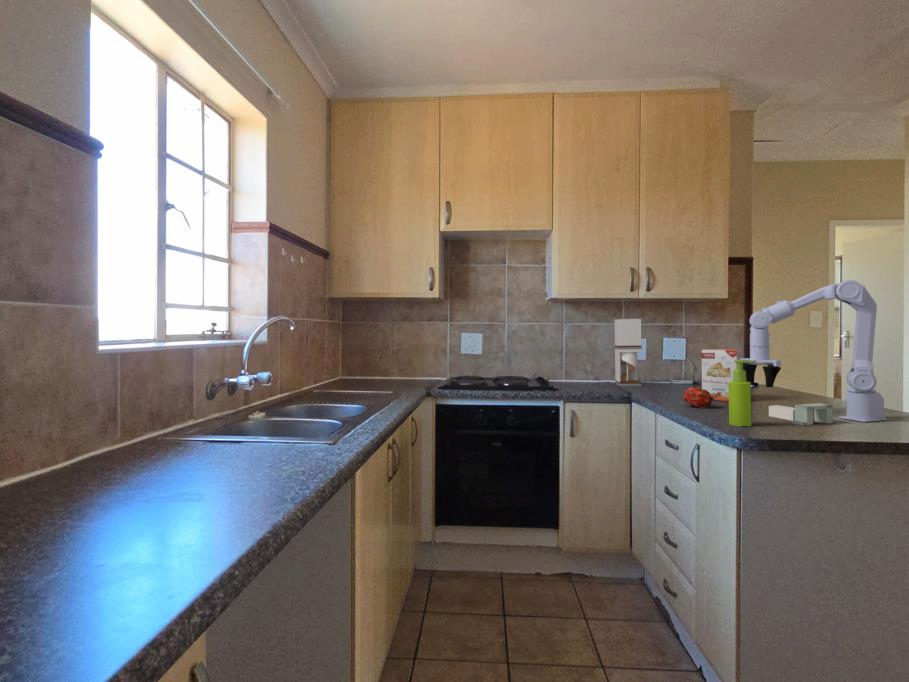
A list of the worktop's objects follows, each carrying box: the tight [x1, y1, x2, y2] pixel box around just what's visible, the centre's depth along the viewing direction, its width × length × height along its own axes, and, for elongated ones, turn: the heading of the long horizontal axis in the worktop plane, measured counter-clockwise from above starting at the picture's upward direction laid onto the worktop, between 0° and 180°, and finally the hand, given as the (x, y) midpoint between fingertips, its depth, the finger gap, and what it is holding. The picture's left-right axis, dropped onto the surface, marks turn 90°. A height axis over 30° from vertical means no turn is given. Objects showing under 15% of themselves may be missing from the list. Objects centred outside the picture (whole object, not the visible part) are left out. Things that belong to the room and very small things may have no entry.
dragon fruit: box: [682, 385, 715, 409], centre depth 187 cm, size 8×8×12 cm
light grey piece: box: [614, 318, 643, 387], centre depth 263 cm, size 11×11×35 cm
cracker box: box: [701, 348, 744, 402], centre depth 203 cm, size 14×6×21 cm, turn 38°
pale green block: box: [790, 402, 837, 427], centre depth 152 cm, size 13×4×6 cm, turn 105°
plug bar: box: [768, 404, 795, 421], centre depth 161 cm, size 4×10×4 cm, turn 15°
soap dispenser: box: [728, 360, 755, 427], centre depth 152 cm, size 6×7×20 cm
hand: (759, 386), depth 170 cm, fingers open, 7 cm apart
